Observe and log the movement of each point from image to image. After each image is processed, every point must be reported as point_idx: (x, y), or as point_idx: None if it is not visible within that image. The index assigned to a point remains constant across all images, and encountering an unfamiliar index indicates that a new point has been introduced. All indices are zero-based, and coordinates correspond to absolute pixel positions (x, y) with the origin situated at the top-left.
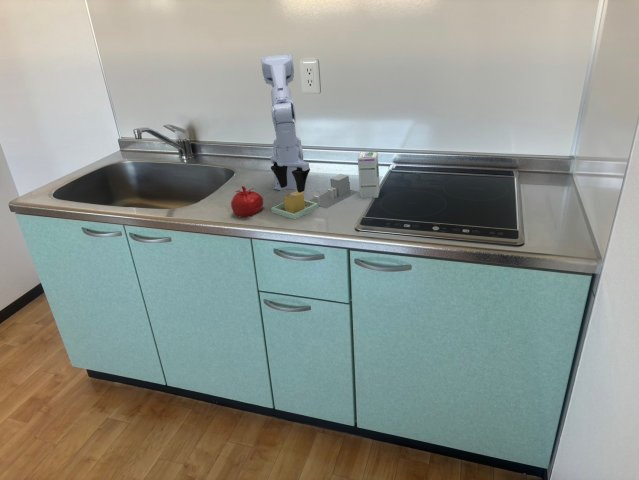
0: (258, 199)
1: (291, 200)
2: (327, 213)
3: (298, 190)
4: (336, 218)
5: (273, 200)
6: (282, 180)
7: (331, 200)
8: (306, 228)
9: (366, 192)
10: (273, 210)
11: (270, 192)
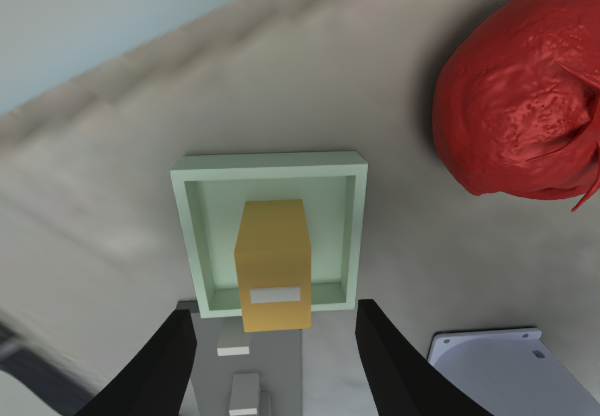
0: (469, 143)
1: (239, 244)
2: (162, 296)
3: (171, 320)
4: (88, 285)
5: (469, 262)
6: (374, 355)
7: (223, 364)
8: (81, 145)
9: None
10: (347, 160)
11: (533, 302)
